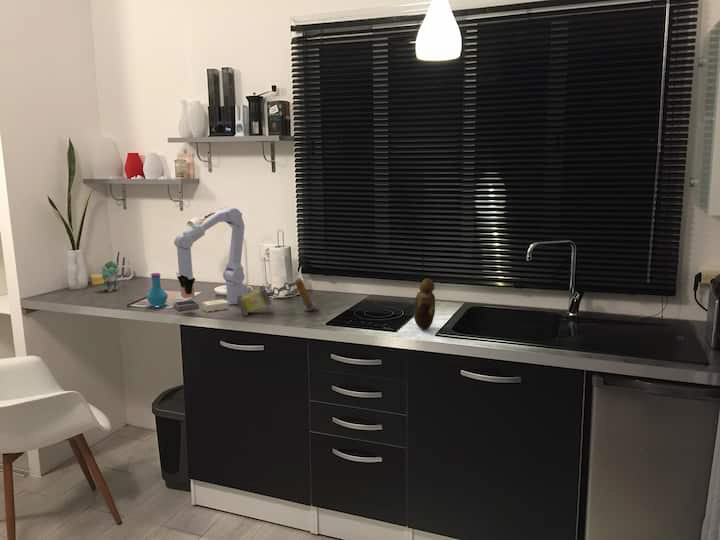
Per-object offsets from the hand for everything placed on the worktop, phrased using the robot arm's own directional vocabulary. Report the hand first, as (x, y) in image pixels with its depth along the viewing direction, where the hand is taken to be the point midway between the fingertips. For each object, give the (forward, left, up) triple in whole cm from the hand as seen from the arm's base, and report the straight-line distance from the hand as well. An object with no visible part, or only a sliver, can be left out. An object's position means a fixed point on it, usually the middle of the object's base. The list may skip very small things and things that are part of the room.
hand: (187, 292), depth 274 cm
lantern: (-32, +24, -9) cm, 41 cm away
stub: (0, 0, -2) cm, 2 cm away
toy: (+21, -65, -9) cm, 69 cm away
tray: (-1, -7, -8) cm, 11 cm away
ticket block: (-11, +3, -8) cm, 14 cm away
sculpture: (-70, +80, -9) cm, 107 cm away
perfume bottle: (+9, -18, -9) cm, 22 cm away
